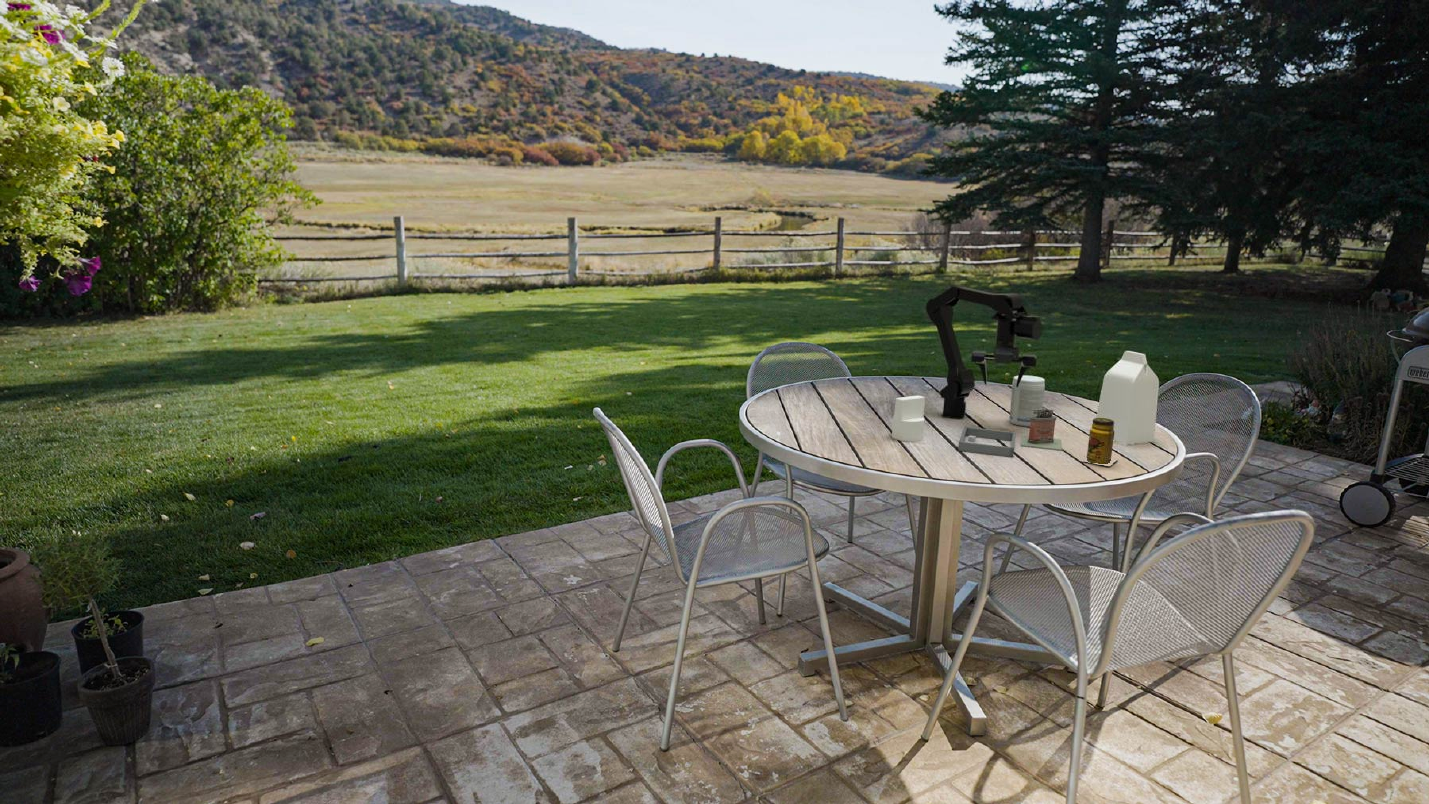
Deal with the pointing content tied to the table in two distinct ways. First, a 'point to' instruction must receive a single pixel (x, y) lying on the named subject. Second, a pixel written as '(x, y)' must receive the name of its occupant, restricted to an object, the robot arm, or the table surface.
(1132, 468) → the table surface
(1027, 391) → the supplement tub
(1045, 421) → the lighter
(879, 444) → the table surface
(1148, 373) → the milk
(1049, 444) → the mat
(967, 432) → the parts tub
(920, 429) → the base with upright slab
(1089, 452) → the condiment
